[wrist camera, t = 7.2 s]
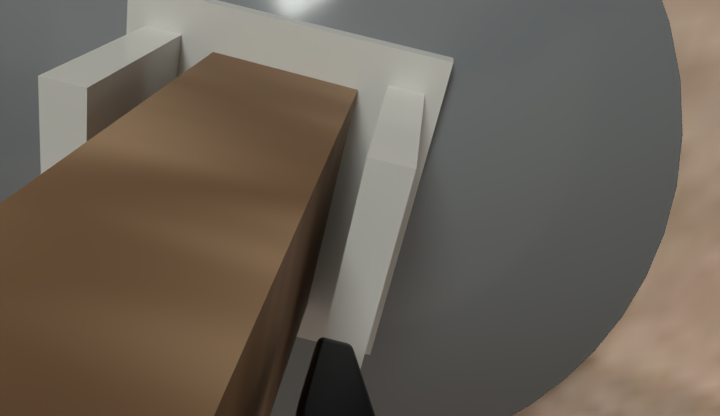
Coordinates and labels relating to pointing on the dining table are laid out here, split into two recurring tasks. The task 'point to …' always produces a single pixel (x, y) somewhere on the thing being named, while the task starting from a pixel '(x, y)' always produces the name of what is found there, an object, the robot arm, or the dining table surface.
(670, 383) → the dining table surface
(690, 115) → the dining table surface
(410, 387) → the grey flat bracketed disc
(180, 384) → the brown wooden block
